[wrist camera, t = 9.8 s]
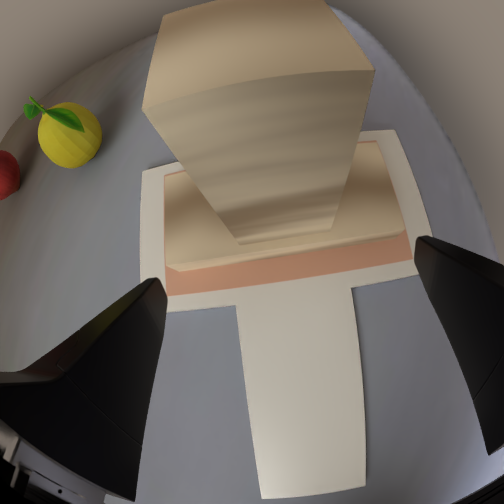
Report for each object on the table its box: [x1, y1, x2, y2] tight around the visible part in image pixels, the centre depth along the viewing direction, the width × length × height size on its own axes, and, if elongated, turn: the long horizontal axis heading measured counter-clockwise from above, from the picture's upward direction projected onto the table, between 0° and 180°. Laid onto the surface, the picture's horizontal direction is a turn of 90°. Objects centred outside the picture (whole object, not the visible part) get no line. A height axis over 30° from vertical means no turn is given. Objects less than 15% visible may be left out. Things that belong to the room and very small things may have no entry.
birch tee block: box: [142, 0, 405, 272], centre depth 12 cm, size 6×14×13 cm, turn 97°
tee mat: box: [140, 130, 433, 499], centre depth 16 cm, size 25×20×1 cm
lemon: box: [24, 96, 102, 168], centre depth 18 cm, size 7×6×10 cm
